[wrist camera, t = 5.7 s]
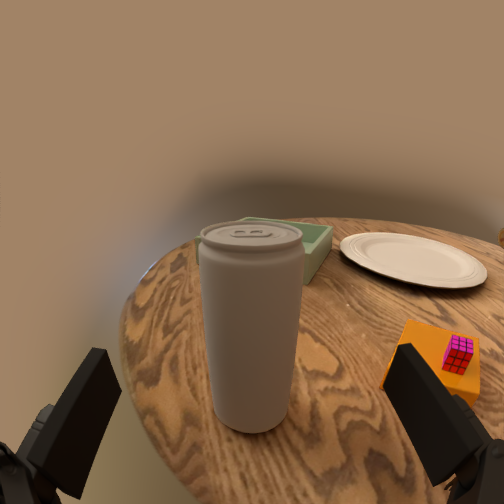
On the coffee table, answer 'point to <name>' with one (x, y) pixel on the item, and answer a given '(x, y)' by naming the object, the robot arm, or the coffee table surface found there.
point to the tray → (314, 242)
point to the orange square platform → (446, 357)
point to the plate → (414, 260)
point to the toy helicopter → (501, 238)
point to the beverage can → (251, 318)
